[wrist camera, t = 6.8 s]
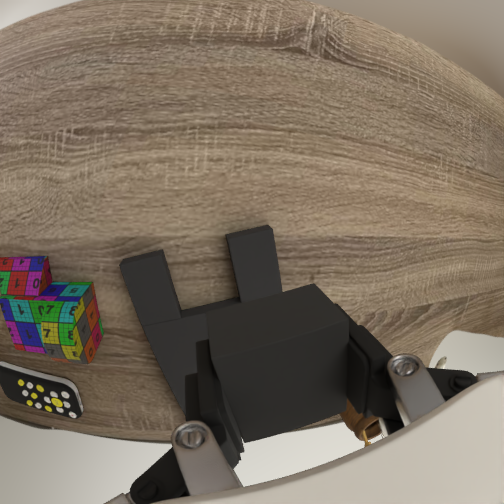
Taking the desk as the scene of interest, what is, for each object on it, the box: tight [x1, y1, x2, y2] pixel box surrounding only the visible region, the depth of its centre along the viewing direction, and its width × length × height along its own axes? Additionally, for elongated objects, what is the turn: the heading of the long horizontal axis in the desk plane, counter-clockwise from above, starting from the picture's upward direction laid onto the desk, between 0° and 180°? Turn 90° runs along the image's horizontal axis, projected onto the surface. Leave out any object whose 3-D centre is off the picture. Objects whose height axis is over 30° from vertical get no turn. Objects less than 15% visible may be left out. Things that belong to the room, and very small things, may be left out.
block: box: [0, 256, 104, 364], centre depth 19 cm, size 12×8×7 cm
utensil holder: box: [339, 398, 384, 447], centre depth 29 cm, size 6×6×12 cm
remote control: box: [0, 362, 83, 419], centre depth 24 cm, size 6×13×2 cm, turn 81°
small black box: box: [206, 283, 349, 443], centre depth 11 cm, size 5×4×3 cm
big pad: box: [119, 225, 282, 416], centre depth 27 cm, size 22×13×2 cm, turn 10°
